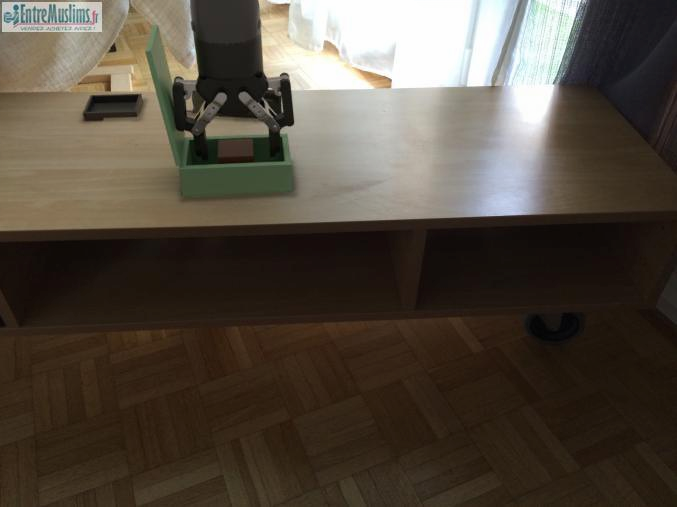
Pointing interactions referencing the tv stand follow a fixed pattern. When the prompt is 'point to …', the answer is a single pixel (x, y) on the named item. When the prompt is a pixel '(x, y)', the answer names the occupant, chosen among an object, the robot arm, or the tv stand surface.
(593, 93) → the tv stand surface
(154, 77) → the lid
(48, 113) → the tv stand surface
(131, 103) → the tray
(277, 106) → the dark green elongated piece
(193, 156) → the box
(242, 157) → the block
